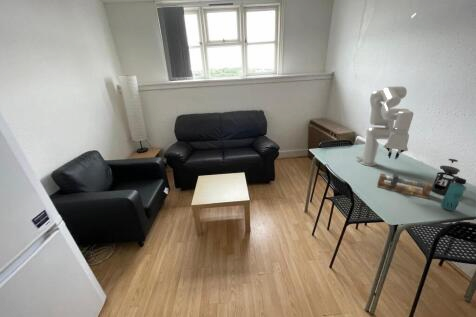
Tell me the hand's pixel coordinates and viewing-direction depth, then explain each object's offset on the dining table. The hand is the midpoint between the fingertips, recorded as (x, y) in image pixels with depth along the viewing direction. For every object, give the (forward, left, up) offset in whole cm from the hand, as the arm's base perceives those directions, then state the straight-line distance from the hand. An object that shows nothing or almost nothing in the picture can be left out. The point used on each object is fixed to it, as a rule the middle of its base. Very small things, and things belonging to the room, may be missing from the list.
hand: (392, 157), depth 134 cm
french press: (+31, +10, -21) cm, 39 cm away
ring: (+5, 0, -19) cm, 20 cm away
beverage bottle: (+31, -12, -21) cm, 39 cm away
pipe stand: (+10, 0, -21) cm, 23 cm away
